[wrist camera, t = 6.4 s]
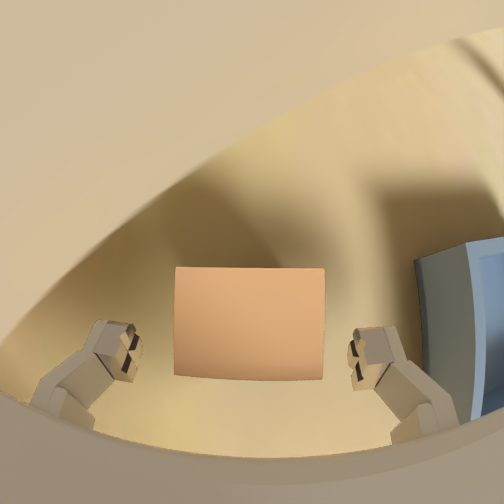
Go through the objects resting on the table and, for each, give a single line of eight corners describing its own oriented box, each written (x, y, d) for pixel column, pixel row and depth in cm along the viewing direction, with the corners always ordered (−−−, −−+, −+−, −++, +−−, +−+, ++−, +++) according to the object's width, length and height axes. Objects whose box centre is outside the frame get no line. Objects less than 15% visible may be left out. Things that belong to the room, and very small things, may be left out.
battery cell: (292, 338, 16) (322, 379, 7) (222, 337, 16) (174, 374, 7) (293, 286, 16) (324, 268, 7) (223, 285, 16) (175, 267, 8)
